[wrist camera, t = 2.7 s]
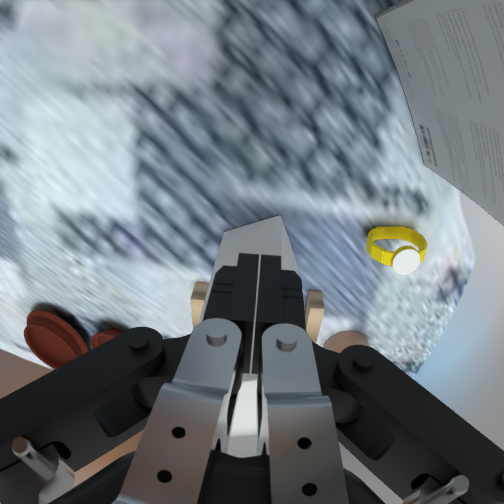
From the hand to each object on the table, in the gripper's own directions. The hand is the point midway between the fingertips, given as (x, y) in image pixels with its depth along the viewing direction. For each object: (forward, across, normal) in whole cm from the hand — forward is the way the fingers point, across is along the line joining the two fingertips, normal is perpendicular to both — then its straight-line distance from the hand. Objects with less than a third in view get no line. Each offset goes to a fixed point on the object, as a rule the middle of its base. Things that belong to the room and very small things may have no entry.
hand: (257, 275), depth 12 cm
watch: (+19, -13, +7) cm, 24 cm away
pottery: (+20, +26, +27) cm, 42 cm away
